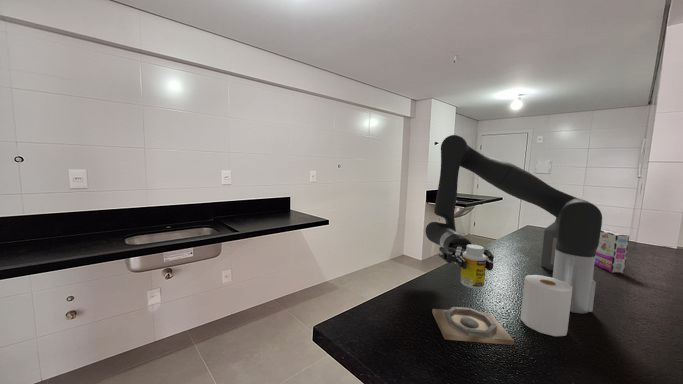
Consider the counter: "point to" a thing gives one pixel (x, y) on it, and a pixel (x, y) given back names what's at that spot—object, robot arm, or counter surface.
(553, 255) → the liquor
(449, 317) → the seat plate
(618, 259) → the candy bar box
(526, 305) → the toilet paper
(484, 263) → the supplement bottle
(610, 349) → the counter surface
